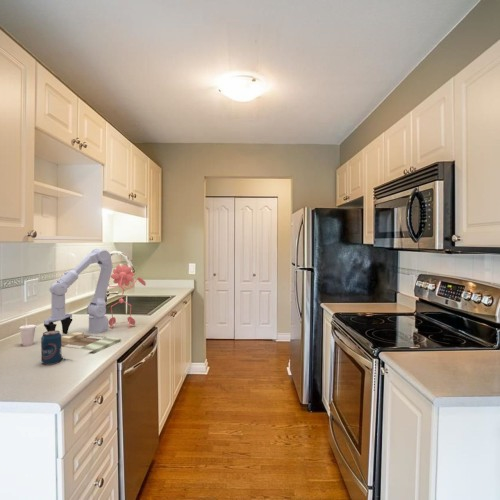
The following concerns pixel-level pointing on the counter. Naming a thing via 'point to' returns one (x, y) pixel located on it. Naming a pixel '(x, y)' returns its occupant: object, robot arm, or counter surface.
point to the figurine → (124, 277)
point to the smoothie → (27, 334)
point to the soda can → (51, 347)
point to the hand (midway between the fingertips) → (58, 335)
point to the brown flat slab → (94, 343)
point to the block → (72, 337)
